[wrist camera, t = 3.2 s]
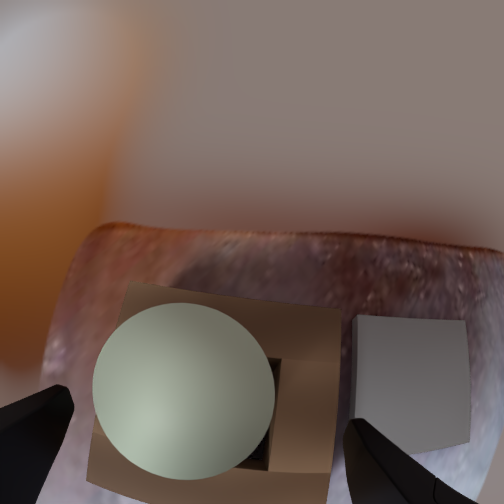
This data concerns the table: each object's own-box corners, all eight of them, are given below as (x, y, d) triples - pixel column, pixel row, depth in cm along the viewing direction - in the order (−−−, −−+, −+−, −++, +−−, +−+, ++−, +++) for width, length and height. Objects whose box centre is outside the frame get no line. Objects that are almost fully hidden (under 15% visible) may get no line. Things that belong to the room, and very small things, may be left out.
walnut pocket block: (305, 503, 12) (322, 523, 9) (116, 471, 12) (86, 480, 9) (322, 332, 18) (341, 308, 15) (149, 308, 18) (129, 280, 15)
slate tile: (460, 442, 13) (469, 442, 12) (344, 458, 14) (350, 460, 13) (457, 325, 18) (465, 320, 17) (352, 319, 18) (357, 314, 18)
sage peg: (248, 443, 14) (262, 493, 4) (184, 433, 14) (79, 448, 4) (255, 385, 16) (283, 316, 6) (194, 375, 16) (116, 290, 6)
